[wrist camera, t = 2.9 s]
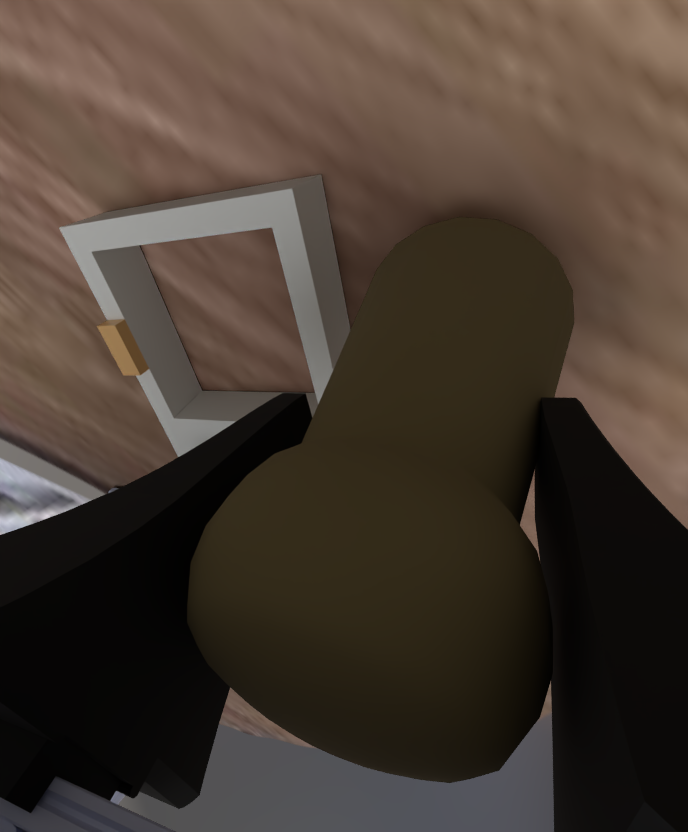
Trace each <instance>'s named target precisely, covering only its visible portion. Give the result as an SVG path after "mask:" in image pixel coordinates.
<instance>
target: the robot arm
mask: <svg viewBox="0 0 688 832" xmlns="http://www.w3.org/2000/svg"><path fill="white" fill-rule="evenodd" d="M311 420H312V414H311V411H310V407H309V403H308V400H307V396H306V393H282V394H280V395H278V396H276V397H274V398H273V399H271V400H269V401H267V402H266V403H264V404H263V405H261V406H259V407H258V408H256V409H255V410H253V411H251V412H250V413H248V414H247V415H245V416H244V417H242V418H241V419H239V420H238V421H236V422H235V423H233V424H231V425H230V426H228V427H227V428H225V429H224V430H222V431H221V432H219V433H218V434H216V435H214V436H213V437H211V438H210V439H208V440H206V441H205V442H203V443H201V444H200V445H198V446H196V447H195V448H193V449H191V450H190V451H188V452H186V453H185V454H183V455H181V456H180V457H178V458H176V459H175V460H173V461H171V462H170V463H168V464H166V465H164V466H162V467H161V468H159V469H157V470H155V471H153V472H151V473H149V474H147V475H145V476H143V477H141V478H139V479H137V480H135V481H133V482H131V483H129V484H127V485H125V486H123V487H121V488H112V489H111V490H110V491H109V492H108V494H106V495H103V496H101V497H99V498H96V499H94V500H92V501H89V502H87V503H85V504H82V505H80V506H78V507H75V508H73V509H71V510H68V511H66V512H63V513H61V514H58V515H55V516H53V517H50V518H48V519H45V520H42V521H40V522H37V523H34V524H31V525H28V526H25V527H23V528H20V529H17V530H14V531H11V532H8V533H5V534H2V535H0V832H175V831H173V830H171V829H169V828H167V827H165V826H163V825H160V824H158V823H156V822H154V821H152V820H150V819H147V818H145V817H143V816H141V815H139V814H137V813H134V812H132V811H130V810H128V809H126V808H124V807H122V806H119V805H118V804H119V802H120V801H121V800H122V799H123V797H124V796H125V795H126V796H129V797H131V798H135V797H136V796H137V795H138V793H139V791H140V792H142V793H145V794H147V795H149V796H151V797H154V798H156V799H158V800H160V801H163V802H165V803H167V804H169V805H172V806H174V807H176V808H178V809H180V808H183V807H185V806H186V805H188V804H190V803H191V802H192V801H193V800H195V799H196V798H197V797H198V796H199V795H200V791H201V787H202V783H203V779H204V775H205V771H206V768H207V764H208V761H209V757H210V754H211V750H212V746H213V743H214V739H215V736H216V732H217V728H218V725H219V721H220V718H221V715H222V712H223V708H224V705H225V702H226V699H227V696H228V693H229V689H230V686H228V685H227V684H226V683H225V682H224V681H223V680H222V679H221V677H220V676H219V675H218V674H217V673H216V672H215V671H214V670H213V669H212V668H211V667H210V666H209V665H208V664H207V662H206V660H205V658H204V657H203V655H202V653H201V652H200V650H199V648H198V646H197V644H196V642H195V639H194V637H193V635H192V633H191V630H190V628H189V626H188V624H187V602H188V589H189V577H190V565H191V560H192V558H193V556H194V553H195V551H196V548H197V546H198V543H199V541H200V538H201V536H202V533H203V531H204V529H205V526H206V525H207V523H208V522H209V521H210V519H211V518H212V517H213V516H214V514H215V513H216V512H217V510H218V509H219V508H220V506H221V505H222V504H223V502H224V501H225V500H226V498H227V497H228V496H229V495H230V494H231V493H232V491H233V490H234V489H235V488H236V487H237V486H238V485H239V484H240V482H241V481H242V480H243V479H244V478H245V477H246V476H247V475H248V474H249V473H250V472H252V471H253V470H254V469H255V468H257V467H258V466H259V465H261V464H262V463H263V462H265V461H266V460H267V459H268V458H270V457H271V456H272V455H274V454H275V453H278V452H280V451H283V450H286V449H288V448H291V447H294V446H296V445H299V444H301V443H302V441H303V439H304V436H305V434H306V432H307V429H308V427H309V425H310V422H311ZM535 522H536V531H537V539H538V547H539V555H540V563H541V568H542V571H543V575H544V579H545V582H546V586H547V590H548V595H549V603H550V610H551V617H552V624H553V674H552V678H551V695H552V736H553V779H554V780H553V784H554V786H553V787H554V832H688V530H687V529H686V528H685V527H684V526H683V525H682V524H681V523H680V522H679V521H678V520H677V519H676V518H675V517H674V516H673V515H672V514H671V513H670V512H669V511H668V510H667V509H666V507H665V506H664V505H663V504H662V503H661V502H660V501H659V500H658V499H657V498H656V497H655V496H654V495H653V494H652V493H651V492H650V491H649V489H648V488H647V487H646V486H645V485H644V484H643V483H642V482H641V481H640V479H639V478H638V477H637V476H636V475H635V474H634V472H633V471H632V470H631V469H630V468H629V466H628V465H627V464H626V463H625V462H624V460H623V459H622V458H621V457H620V456H619V455H618V453H617V452H616V451H615V450H614V448H613V447H612V446H611V444H610V443H609V442H608V441H607V439H606V438H605V437H604V435H603V434H602V433H601V431H600V430H599V429H598V427H597V426H596V424H595V423H594V421H593V420H592V419H591V417H590V416H589V414H588V413H587V411H586V410H585V408H584V406H583V405H582V403H581V402H580V401H579V400H578V399H577V398H550V397H541V415H540V442H539V455H538V459H537V462H536V466H535Z"/></svg>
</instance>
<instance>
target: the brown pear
mask: <svg viewBox="0 0 688 832" xmlns="http://www.w3.org/2000/svg"><path fill="white" fill-rule="evenodd" d="M573 325H574V307H573V290H572V288H571V286H570V283H569V281H568V279H567V277H566V275H565V273H564V271H563V269H562V267H561V264H560V262H559V260H558V259H557V258H556V257H555V256H554V255H553V254H552V253H551V252H550V251H549V250H548V249H547V248H546V247H545V246H544V245H542V244H541V243H540V242H539V241H538V240H537V239H536V238H535V237H534V236H533V235H532V234H530V233H528V232H525V231H523V230H520V229H518V228H516V227H513V226H511V225H509V224H506V223H504V222H501V221H499V220H497V219H482V218H467V217H457V218H453V219H450V220H446V221H442V222H438V223H434V224H431V225H427V226H424V227H422V228H421V229H419V230H418V231H416V232H415V233H413V234H412V235H410V236H408V237H407V238H405V239H404V240H402V241H401V242H399V243H398V244H396V245H395V247H394V248H393V249H392V250H391V252H390V253H389V254H388V256H387V257H386V258H385V259H384V261H383V262H382V263H381V265H380V266H379V267H378V268H377V270H376V273H375V275H374V277H373V280H372V282H371V284H370V286H369V289H368V291H367V293H366V296H365V298H364V300H363V303H362V305H361V307H360V310H359V312H358V314H357V316H356V319H355V321H354V323H353V326H352V328H351V330H350V333H349V335H348V337H347V339H346V342H345V344H344V346H343V349H342V351H341V353H340V356H339V358H338V360H337V363H336V365H335V367H334V369H333V372H332V374H331V376H330V379H329V381H328V383H327V386H326V388H325V390H324V392H323V395H322V397H321V399H320V402H319V404H318V406H317V409H316V411H315V413H314V416H313V418H312V420H311V422H310V425H309V427H308V429H307V432H306V434H305V436H304V439H303V441H302V443H301V444H299V445H296V446H294V447H291V448H288V449H286V450H283V451H280V452H278V453H275V454H274V455H272V456H271V457H270V458H268V459H267V460H266V461H265V462H263V463H262V464H261V465H259V466H258V467H257V468H255V469H254V470H253V471H252V472H250V473H249V474H248V475H247V476H246V477H245V478H244V479H243V480H242V481H241V482H240V484H239V485H238V486H237V487H236V488H235V489H234V490H233V491H232V493H231V494H230V495H229V496H228V497H227V498H226V500H225V501H224V502H223V504H222V505H221V506H220V508H219V509H218V510H217V512H216V513H215V514H214V516H213V517H212V518H211V519H210V521H209V522H208V523H207V525H206V526H205V529H204V531H203V533H202V536H201V538H200V541H199V543H198V546H197V548H196V551H195V553H194V556H193V558H192V560H191V565H190V577H189V589H188V602H187V624H188V626H189V628H190V630H191V633H192V635H193V637H194V639H195V642H196V644H197V646H198V648H199V650H200V652H201V653H202V655H203V657H204V658H205V660H206V662H207V664H208V665H209V666H210V667H211V668H212V669H213V670H214V671H215V672H216V673H217V674H218V675H219V676H220V677H221V679H222V680H223V681H224V682H225V683H226V684H227V685H228V686H230V687H231V688H232V689H233V690H234V691H235V692H236V693H237V694H238V695H240V696H241V697H242V698H243V699H244V700H245V701H246V702H247V703H249V704H250V705H251V706H252V707H253V708H255V709H256V710H257V711H259V712H260V713H261V714H262V715H264V716H265V717H266V718H268V719H269V720H271V721H272V722H274V723H275V724H277V725H278V726H280V727H282V728H283V729H285V730H286V731H288V732H289V733H291V734H293V735H294V736H296V737H298V738H299V739H301V740H303V741H305V742H307V743H309V744H310V745H312V746H314V747H316V748H319V749H321V750H323V751H325V752H327V753H329V754H332V755H334V756H337V757H339V758H342V759H344V760H347V761H350V762H352V763H355V764H358V765H361V766H363V767H367V768H370V769H374V770H377V771H382V772H385V773H389V774H394V775H399V776H405V777H410V778H414V779H420V780H427V781H437V782H446V783H452V782H457V781H462V780H467V779H471V778H475V777H478V776H482V775H485V774H489V773H492V772H495V771H499V770H500V769H501V767H502V766H503V765H504V763H505V762H506V761H507V760H508V758H509V757H510V755H511V754H512V753H513V752H514V750H515V749H516V748H517V746H518V745H519V744H520V742H521V741H522V740H523V739H524V737H525V736H526V735H527V733H528V732H529V731H530V729H531V728H532V727H533V725H534V724H535V723H536V722H537V720H538V719H539V718H540V715H541V712H542V708H543V705H544V702H545V698H546V695H547V691H548V688H549V684H550V681H551V678H552V674H553V624H552V617H551V610H550V603H549V595H548V590H547V586H546V582H545V579H544V575H543V571H542V568H541V564H540V560H539V557H538V553H537V550H536V549H535V547H534V546H533V544H532V543H531V541H530V540H529V539H528V537H527V536H526V534H525V533H524V531H523V530H522V528H521V527H520V522H521V518H522V514H523V511H524V507H525V503H526V500H527V496H528V492H529V488H530V485H531V481H532V477H533V474H534V470H535V466H536V462H537V459H538V455H539V442H540V415H541V397H550V398H554V396H555V392H556V388H557V385H558V381H559V377H560V373H561V370H562V366H563V362H564V359H565V355H566V351H567V348H568V344H569V340H570V336H571V333H572V329H573Z"/></svg>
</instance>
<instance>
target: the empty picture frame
mask: <svg viewBox="0 0 688 832" xmlns="http://www.w3.org/2000/svg"><path fill="white" fill-rule="evenodd" d="M59 228H60V230H61V232H62V234H63V236H64V238H65V240H66V242H67V244H68V246H69V248H70V250H71V252H72V253H73V255H74V257H75V259H76V261H77V263H78V265H79V267H80V269H81V271H82V273H83V275H84V277H85V278H86V280H87V282H88V284H89V286H90V288H91V290H92V292H93V294H94V296H95V298H96V300H97V302H98V303H99V305H100V307H101V309H102V311H103V313H104V315H105V317H106V319H107V321H105V322H103V323H102V324H100V325H98V326H97V327H98V329H99V331H100V333H101V335H102V336H103V338H104V340H105V342H106V344H107V346H108V348H109V349H110V351H111V353H112V355H113V357H114V359H115V361H116V362H117V364H118V366H119V368H120V370H121V372H122V374H123V375H136V377H137V378H138V380H139V382H140V384H141V386H142V388H143V390H144V392H145V394H146V396H147V398H148V400H149V402H150V403H151V405H152V407H153V409H154V411H155V413H156V415H157V417H158V419H159V421H160V423H161V425H162V426H163V428H164V430H165V432H166V434H167V436H168V438H169V440H170V442H171V444H172V446H173V448H174V450H175V451H176V453H177V455H178V457H180V456H181V455H183V454H185V453H186V452H188V451H190V450H191V449H193V448H195V447H196V446H198V445H200V444H201V443H203V442H205V441H206V440H208V439H210V438H211V437H213V436H214V435H216V434H218V433H219V432H221V431H222V430H224V429H225V428H227V427H228V426H230V425H231V424H233V423H235V422H236V421H238V420H239V419H241V418H242V417H244V416H245V415H247V414H248V413H250V412H251V411H253V410H255V409H256V408H258V407H259V406H261V405H263V404H264V403H266V402H267V401H269V400H271V399H273V398H274V397H276V396H278V395H280V394H282V393H292V392H242V391H202V389H201V387H200V385H199V382H198V380H197V378H196V375H195V373H194V371H193V368H192V366H191V364H190V361H189V359H188V357H187V354H186V352H185V350H184V348H183V345H182V343H181V341H180V338H179V336H178V334H177V331H176V329H175V327H174V324H173V322H172V320H171V317H170V315H169V313H168V310H167V308H166V306H165V303H164V301H163V299H162V297H161V294H160V292H159V290H158V287H157V285H156V283H155V280H154V278H153V276H152V273H151V271H150V269H149V266H148V264H147V262H146V259H145V257H144V255H143V253H142V250H141V248H140V246H139V245H145V244H152V243H160V242H167V241H175V240H182V239H190V238H197V237H205V236H212V235H220V234H227V233H234V232H242V231H249V230H257V229H264V228H272V229H273V233H274V237H275V241H276V244H277V248H278V252H279V256H280V260H281V264H282V267H283V271H284V275H285V279H286V283H287V287H288V291H289V294H290V298H291V302H292V306H293V310H294V314H295V317H296V321H297V325H298V329H299V333H300V337H301V340H302V344H303V348H304V352H305V356H306V360H307V363H308V367H309V371H310V375H311V379H312V383H313V386H314V390H315V393H306V396H307V400H308V403H309V407H310V411H311V414H312V418H313V416H314V413H315V411H316V409H317V406H318V404H319V402H320V399H321V397H322V395H323V392H324V390H325V388H326V386H327V383H328V381H329V379H330V376H331V374H332V372H333V369H334V367H335V365H336V363H337V360H338V358H339V356H340V353H341V351H342V349H343V346H344V344H345V342H346V339H347V337H348V335H349V333H350V325H349V319H348V314H347V309H346V303H345V298H344V293H343V287H342V282H341V277H340V272H339V266H338V261H337V256H336V250H335V245H334V240H333V234H332V229H331V224H330V219H329V213H328V208H327V203H326V197H325V192H324V187H323V182H322V176H321V174H320V175H314V176H308V177H303V178H297V179H291V180H286V181H280V182H274V183H269V184H263V185H257V186H252V187H246V188H240V189H234V190H229V191H223V192H217V193H212V194H206V195H200V196H195V197H189V198H183V199H178V200H172V201H166V202H161V203H155V204H149V205H144V206H138V207H132V208H126V209H121V210H115V211H109V212H105V213H102V214H99V215H96V216H93V217H90V218H87V219H84V220H81V221H78V222H74V223H71V224H68V225H65V226H62V227H59Z"/></svg>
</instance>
